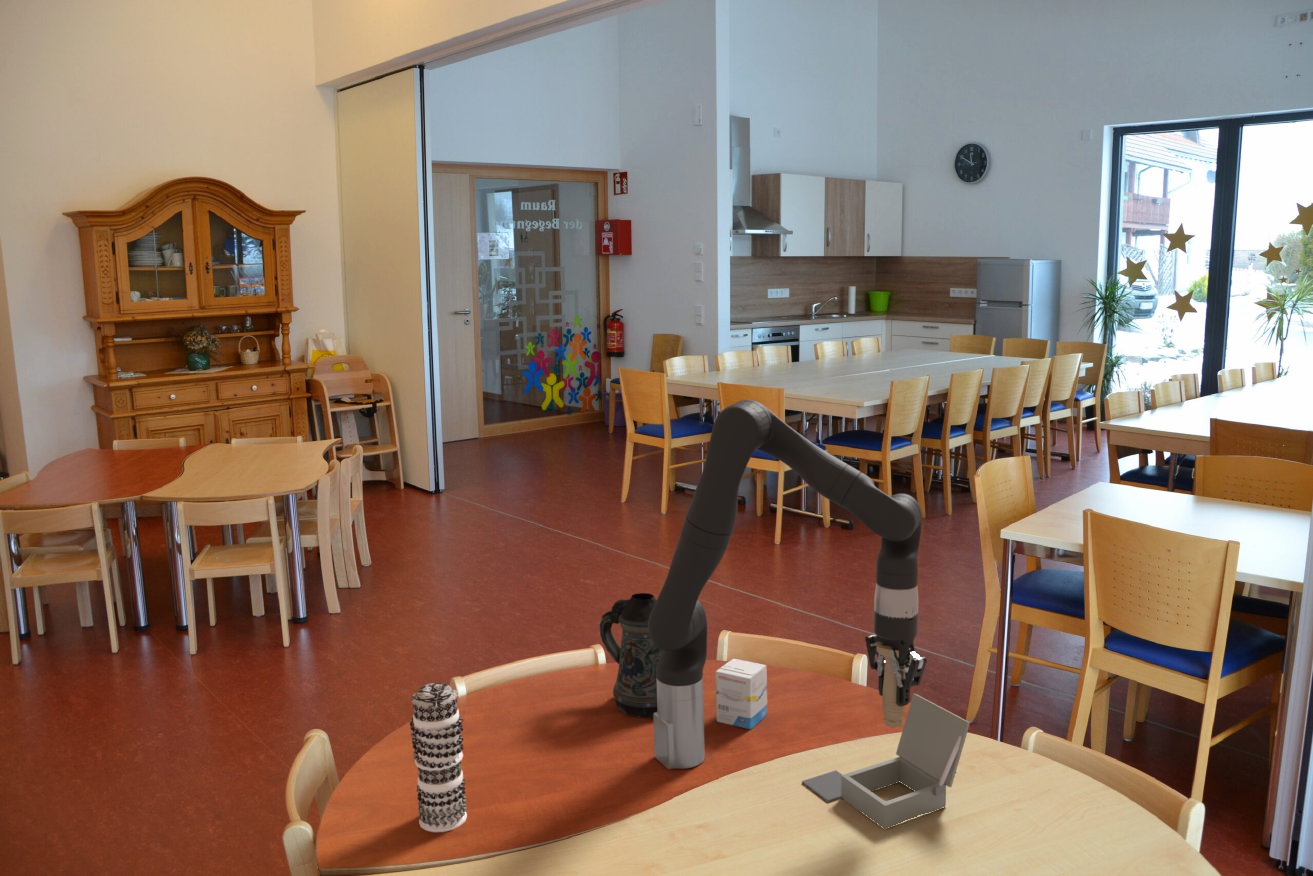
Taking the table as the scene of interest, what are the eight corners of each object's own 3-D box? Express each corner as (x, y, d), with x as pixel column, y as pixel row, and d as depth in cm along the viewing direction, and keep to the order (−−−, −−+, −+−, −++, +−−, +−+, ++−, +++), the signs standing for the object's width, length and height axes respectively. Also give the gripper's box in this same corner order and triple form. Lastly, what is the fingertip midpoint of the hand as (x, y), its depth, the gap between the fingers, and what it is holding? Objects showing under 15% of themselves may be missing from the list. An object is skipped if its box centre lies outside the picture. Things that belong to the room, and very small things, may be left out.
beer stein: (686, 718, 214) (684, 608, 210) (597, 719, 215) (593, 610, 210) (685, 686, 231) (683, 584, 226) (603, 688, 231) (599, 586, 227)
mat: (827, 802, 179) (827, 800, 179) (802, 783, 186) (802, 781, 186) (862, 791, 183) (862, 789, 182) (835, 772, 190) (835, 770, 189)
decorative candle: (444, 839, 171) (434, 704, 166) (406, 824, 175) (396, 692, 171) (479, 814, 178) (471, 684, 174) (442, 801, 183) (433, 674, 179)
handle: (910, 733, 173) (913, 652, 170) (873, 728, 175) (875, 648, 172) (912, 721, 177) (914, 642, 175) (876, 716, 179) (877, 638, 176)
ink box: (768, 714, 215) (767, 664, 213) (750, 730, 208) (750, 678, 206) (733, 706, 219) (733, 657, 218) (715, 721, 212) (714, 670, 210)
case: (888, 832, 169) (889, 746, 166) (837, 795, 181) (838, 714, 179) (967, 804, 177) (970, 721, 175) (914, 770, 189) (915, 692, 187)
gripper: (853, 600, 177) (851, 690, 179) (907, 624, 164) (904, 720, 167) (885, 593, 180) (883, 681, 183) (941, 616, 168) (938, 711, 170)
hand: (893, 699), depth 175 cm, fingers closed on handle, 4 cm apart
